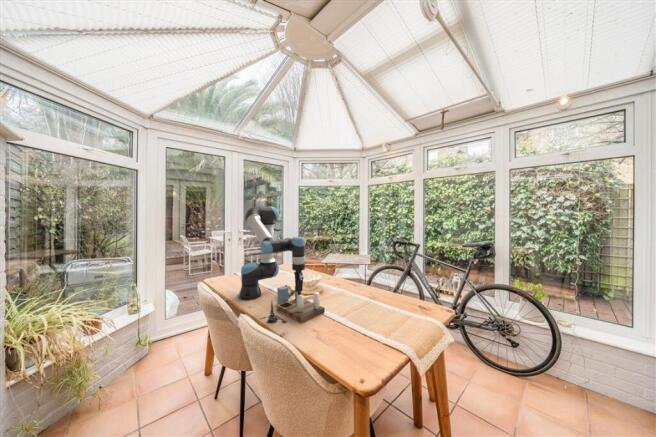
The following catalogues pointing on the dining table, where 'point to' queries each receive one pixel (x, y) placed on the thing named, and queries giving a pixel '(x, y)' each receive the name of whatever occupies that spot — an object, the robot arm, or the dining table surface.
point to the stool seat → (307, 314)
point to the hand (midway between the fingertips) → (298, 301)
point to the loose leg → (282, 294)
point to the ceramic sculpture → (290, 290)
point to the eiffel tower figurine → (274, 317)
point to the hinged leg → (300, 299)
